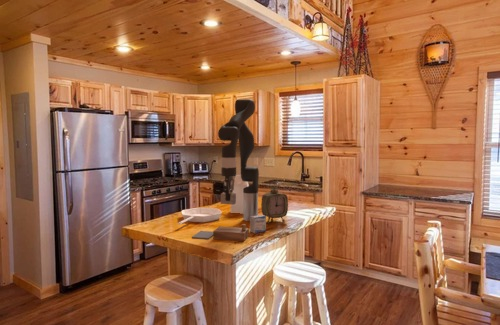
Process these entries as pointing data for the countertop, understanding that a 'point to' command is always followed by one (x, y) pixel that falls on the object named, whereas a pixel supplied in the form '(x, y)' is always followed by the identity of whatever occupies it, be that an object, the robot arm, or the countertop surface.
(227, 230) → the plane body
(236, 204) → the milk
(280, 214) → the tabletop clock
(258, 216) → the medicine box
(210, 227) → the countertop surface
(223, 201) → the lever cap
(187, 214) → the pan
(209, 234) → the rubber mat
